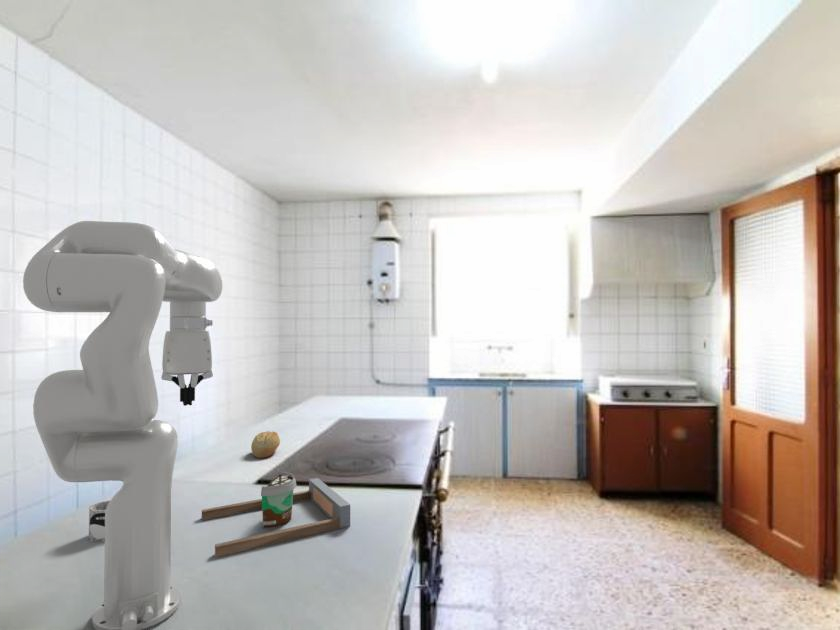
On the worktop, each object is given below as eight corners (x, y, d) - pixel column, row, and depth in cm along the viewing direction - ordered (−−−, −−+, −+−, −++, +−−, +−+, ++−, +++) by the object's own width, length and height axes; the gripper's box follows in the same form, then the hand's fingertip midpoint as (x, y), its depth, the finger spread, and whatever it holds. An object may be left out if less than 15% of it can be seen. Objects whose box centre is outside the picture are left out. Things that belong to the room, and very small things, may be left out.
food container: (286, 531, 111) (287, 487, 111) (260, 531, 112) (260, 487, 112) (302, 510, 124) (302, 471, 124) (278, 510, 124) (279, 471, 124)
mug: (83, 543, 106) (84, 512, 106) (95, 530, 112) (95, 501, 112) (135, 537, 108) (135, 507, 108) (143, 525, 115) (144, 497, 115)
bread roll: (282, 448, 186) (282, 427, 186) (276, 459, 171) (276, 436, 171) (256, 449, 184) (256, 427, 184) (247, 460, 170) (248, 437, 170)
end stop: (350, 525, 114) (350, 504, 114) (339, 528, 113) (339, 506, 113) (317, 495, 134) (317, 477, 134) (307, 497, 133) (307, 479, 133)
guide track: (340, 528, 113) (340, 519, 113) (216, 556, 99) (216, 547, 99) (308, 497, 133) (308, 490, 133) (201, 518, 119) (201, 509, 119)
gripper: (219, 324, 119) (219, 399, 119) (150, 325, 111) (149, 405, 111) (225, 325, 113) (224, 404, 112) (151, 325, 105) (150, 410, 105)
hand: (187, 404), depth 112 cm, fingers closed
